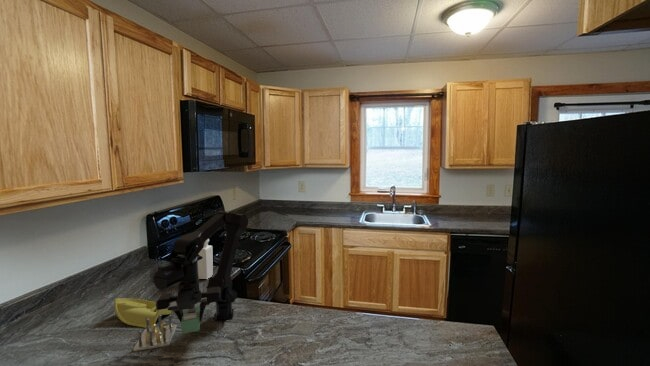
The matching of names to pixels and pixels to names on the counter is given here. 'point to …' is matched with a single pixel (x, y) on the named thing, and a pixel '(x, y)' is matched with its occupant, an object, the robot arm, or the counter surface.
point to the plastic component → (137, 311)
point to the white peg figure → (206, 262)
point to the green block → (190, 320)
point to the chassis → (155, 335)
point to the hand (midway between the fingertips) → (191, 322)
